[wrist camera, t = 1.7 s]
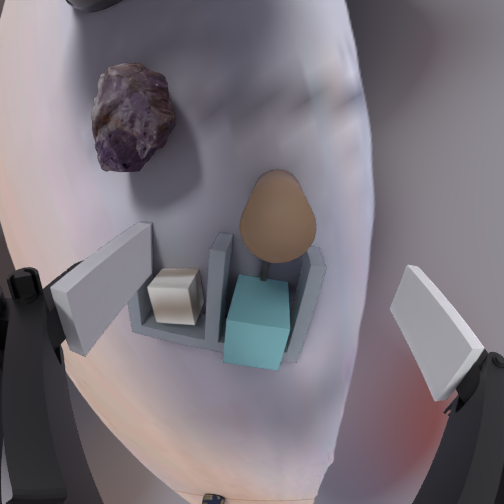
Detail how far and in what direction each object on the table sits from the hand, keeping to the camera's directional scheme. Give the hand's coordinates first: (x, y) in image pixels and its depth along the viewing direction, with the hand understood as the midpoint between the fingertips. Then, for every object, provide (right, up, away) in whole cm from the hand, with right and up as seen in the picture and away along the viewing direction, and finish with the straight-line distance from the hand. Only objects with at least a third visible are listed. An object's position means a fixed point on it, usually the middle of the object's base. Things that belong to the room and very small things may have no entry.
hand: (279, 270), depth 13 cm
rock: (-12, +16, +13) cm, 25 cm away
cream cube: (-10, -3, +22) cm, 24 cm away
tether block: (+1, +1, +19) cm, 19 cm away
